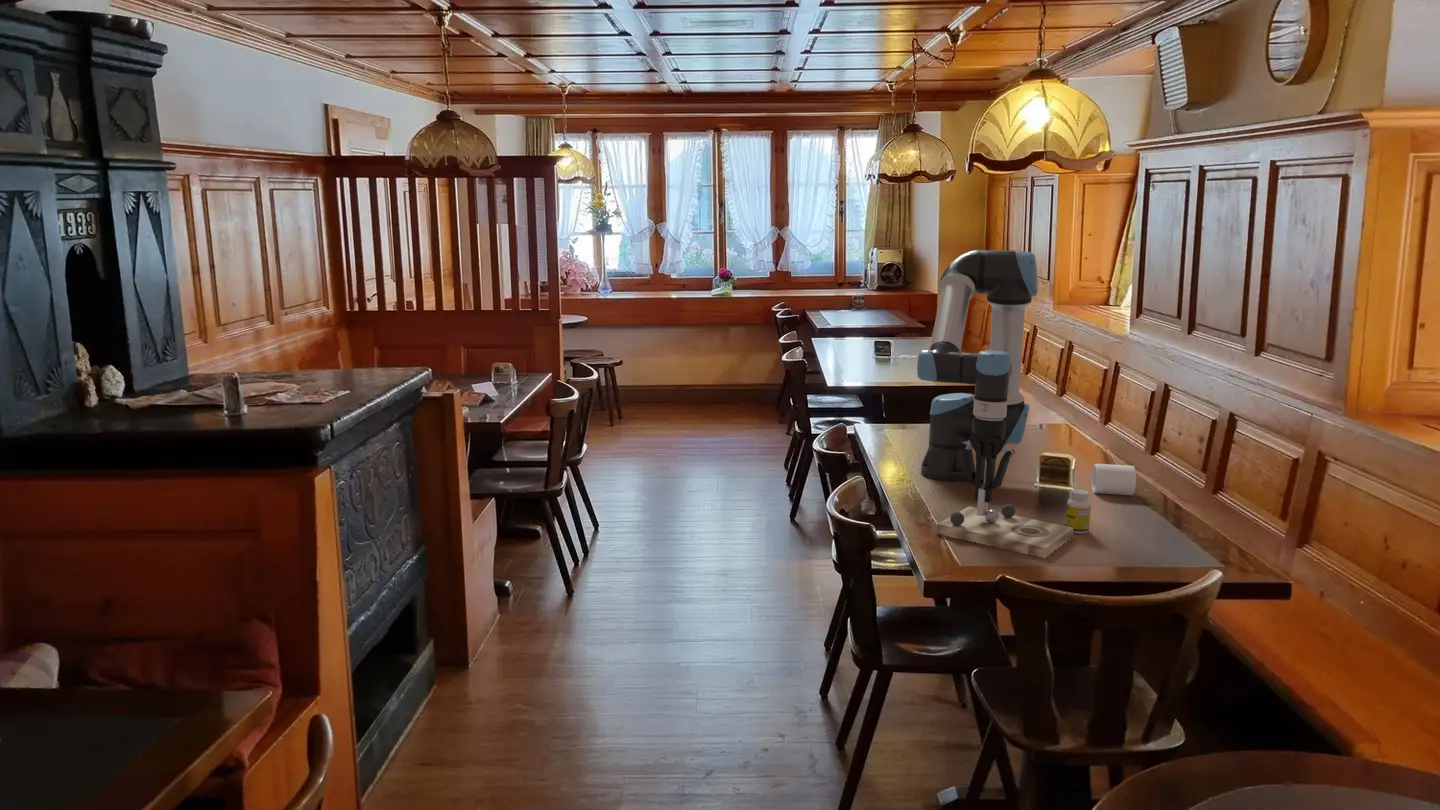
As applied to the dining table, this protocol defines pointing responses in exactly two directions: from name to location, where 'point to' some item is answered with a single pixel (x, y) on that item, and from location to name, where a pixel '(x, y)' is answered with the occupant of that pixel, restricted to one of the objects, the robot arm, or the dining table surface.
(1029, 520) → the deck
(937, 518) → the dining table surface
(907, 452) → the dining table surface
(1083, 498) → the supplement bottle
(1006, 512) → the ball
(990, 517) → the steel ball
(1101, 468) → the mug
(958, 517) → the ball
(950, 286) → the robot arm
